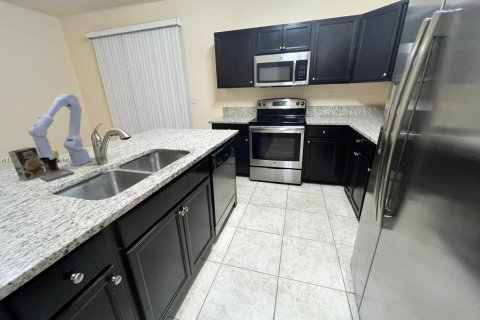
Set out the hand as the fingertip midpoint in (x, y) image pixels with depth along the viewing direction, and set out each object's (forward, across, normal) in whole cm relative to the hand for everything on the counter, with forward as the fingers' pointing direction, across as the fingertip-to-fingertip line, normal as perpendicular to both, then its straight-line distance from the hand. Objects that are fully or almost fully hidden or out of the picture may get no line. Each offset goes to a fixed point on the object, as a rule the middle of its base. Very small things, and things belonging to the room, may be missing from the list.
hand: (52, 169), depth 120 cm
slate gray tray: (+2, +11, -2) cm, 11 cm away
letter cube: (+1, 0, 0) cm, 1 cm away
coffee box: (+2, -1, -9) cm, 9 cm away
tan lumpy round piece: (+2, -24, +5) cm, 25 cm away
